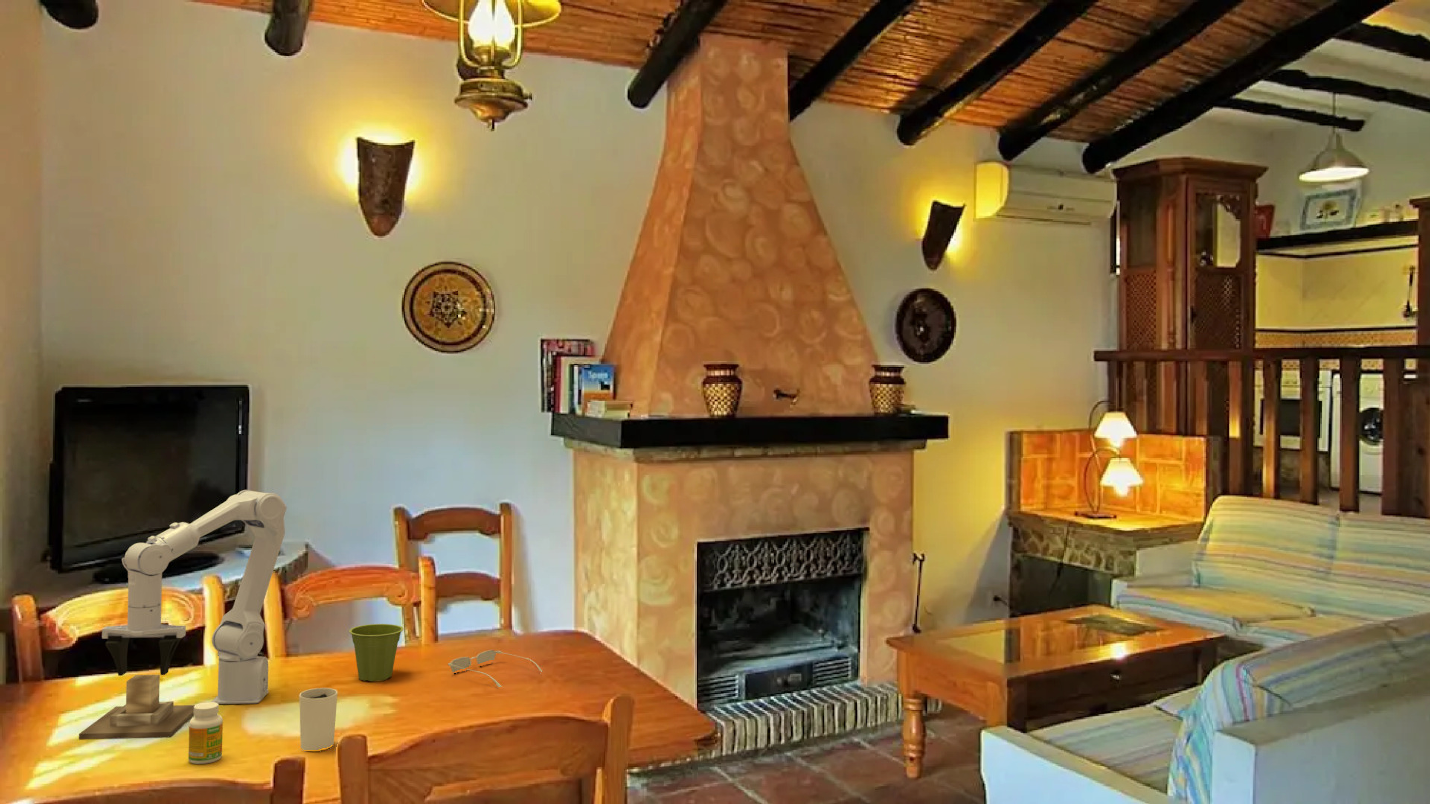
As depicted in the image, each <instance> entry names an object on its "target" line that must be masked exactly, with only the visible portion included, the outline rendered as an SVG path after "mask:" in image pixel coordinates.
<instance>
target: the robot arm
mask: <svg viewBox="0 0 1430 804" xmlns="http://www.w3.org/2000/svg"><path fill="white" fill-rule="evenodd" d="M287 508H288V507H287V506H286V504H285V503H284V500H283V499H282V498H281V496H280V495H278V494H276V493H273V492H260V491H255V490H252V489H251V490H250V489H244V490H241V491H239V492H238V493H236V494H233V495H230V496H229V497H228V498H227V499H226V501H224V502H223V503H220V504H219V505H218V506H216V507H215V508H213V509H212V510H210V511H208V512H206V513H205V514H203V515H202V516H200V517H199V518H197V519H195V520H193V521H192V522H191V523H189V522H185V521H182V522H173V523H171V524H169V528H168V529H166V530H165V531H163V532H160V533H159V534H157V535H151V536H150V537H148V538H147V540H146V542H137V543H134V544H132V545H131V546H129V548H128V549H127V551H126V552H125V555H124V557H122V558H121V562H122V565H123V567H124V569H126V571H127V578H128V580H127V582H128V583H127V584H128V587H127V589H128V590H127V624H126V625H125V624H124V625H113V626H112V625H111V626H110V625H108V626H104V627H103V628H102V629H101V639H107V641H106V642H105V647H106V648H107V650H108V651H109V653H110V654H111V657H112V658H113V661H114V663H115V668H116V670H117V671H116V672H117V674H118V677H121V676H124V675H125V674H127V671H128V650H129V649H128V648H129V642H130V641H129V640H130V638H162V639H161V640H159V641H158V646H159V652H160V668H159V669H160V671H159V672H160V673H159V675H160V676H165V675H167V674H168V673H169V669H170V665H171V661H172V658H173V656H174V653H175V651H176V649H177V647H178V645H179V643H180V641H181V640H182V638H184V637H185V636H186V632H187V631H186V629H187V628H186V625H174V624H173V625H172V624H163V623H162V595H163V594H162V590H163V589H162V587H163V585H162V584H163V572H164V571H165V570H166V569H167V567H168V566H169V563H170V562H172V561H173V560H175V559H177V558H178V557H180V556H181V555H184V554H185V553H188V552H189V551H191V550H192V549H194V548H196V547H197V546H198V544H199V540H200V538H201V537H203V536H205V535H208V534H210V533H212V532H213V531H216V530H217V529H219V528H221V527H223V526H225V525H228V524H229V523H231V522H233V521H241V522H243V523H244V524H245V525H247V526H248V527H249V529H250V531H252V533H253V535H254V537H255V538H254V540H253V544H252V548H251V550H250V554H249V557H248V560H247V563H246V566H245V568H244V572H243V575H242V579H241V581H240V586H239V588H238V590H237V594H236V596H235V601H234V603H233V606H232V608H231V609H230V610H229V611H228V612H227V613H224V615H223V616H222V618H221V621H220V623H219V625H217V626H216V628H215V630H214V631H213V633H212V636H211V644H212V647H213V648H214V650H216V651H217V657H218V668H217V669H218V671H217V672H218V675H217V676H218V678H217V679H218V680H217V696H215V697H214V698H213V699H212V700H211V701H210V702H215V703H218V704H219V705H222V704H223V705H227V704H228V705H229V704H230V705H235V704H239V705H240V704H259V703H260V702H261V701H262V700H263V699H264V697H266V695H267V694H268V693H269V692H270V691H269V660H268V658H267V657H266V656H259V655H258V654H259V653H260V652H261V650H262V649H263V646H264V641H265V640H264V639H265V638H264V630H265V627H266V624H265V622H264V620H263V618H262V616H261V611H262V609H263V608H262V607H263V605H264V601H265V598H266V595H267V591H268V588H269V586H270V583H271V580H272V575H273V572H274V570H275V566H276V564H277V561H278V556H279V554H280V551H281V547H282V544H283V541H284V538H285V532H286V531H285V519H284V517H285V515H286V512H287Z"/></svg>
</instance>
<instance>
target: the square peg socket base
mask: <svg viewBox="0 0 1430 804" xmlns="http://www.w3.org/2000/svg"><path fill="white" fill-rule="evenodd" d="M174 702H175V701H171V700H170V701H159V709H158V710H156V711H155V712H154V713H141V714H126V703H125V704H124V705H123V706H122V705H121V706H118V705H117V706H114V707H113V708H112V709H110V710H109V711H107V712H106V713H105V714H104V715H103V716H100V717H99V718H98V719H97V720H96V721H94V722H93V723H92V724H90V725H89V726H87V727H86V728H84V729H83V730H81V732H79V733H78V740H98V739H99V740H104V739H107V740H108V739H132V738H133V739H137V738H138V739H141V738H142V739H143V738H146V739H147V738H172V737H173V736H174V735H175V734H176V732H178V731H179V730H180V729H181V728H182V727H184V725H185V724H187V722H190V720H191V719H192V718H193V717H195V715H194V706H195V705H196V704H187V705H186V704H183V705H182V704H180V705H177V704H175V705H174Z"/></svg>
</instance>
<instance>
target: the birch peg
mask: <svg viewBox="0 0 1430 804" xmlns="http://www.w3.org/2000/svg"><path fill="white" fill-rule="evenodd" d="M160 677H161V674H134V676H132V677H131V678H129V679H128V680H126V683H125V684H126V687H125V688H126V689H125V690H126V691H125V692H126V693H125V696H126V697H125V699H126V700H125V704H126V714H141V713H154V712H155V711H156V710H158V709H159V702H160V685H161V684H160V682H161V681H160V680H161V679H160Z"/></svg>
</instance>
